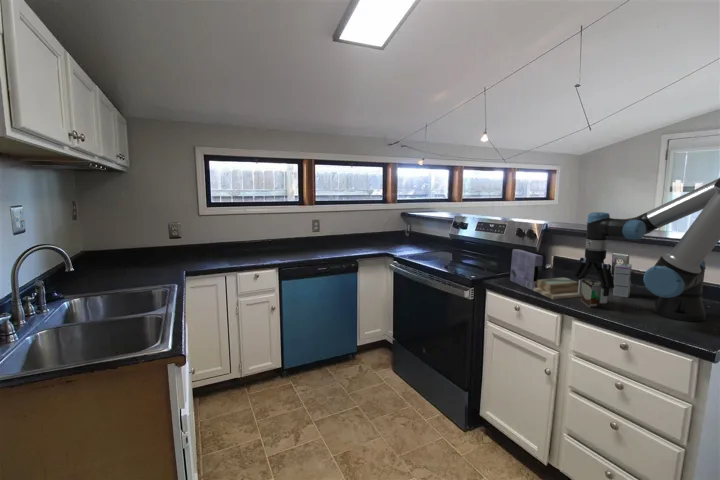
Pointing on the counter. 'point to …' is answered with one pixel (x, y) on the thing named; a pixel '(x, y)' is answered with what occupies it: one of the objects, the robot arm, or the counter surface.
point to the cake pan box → (526, 268)
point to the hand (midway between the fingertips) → (591, 298)
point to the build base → (558, 295)
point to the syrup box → (622, 280)
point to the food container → (590, 292)
